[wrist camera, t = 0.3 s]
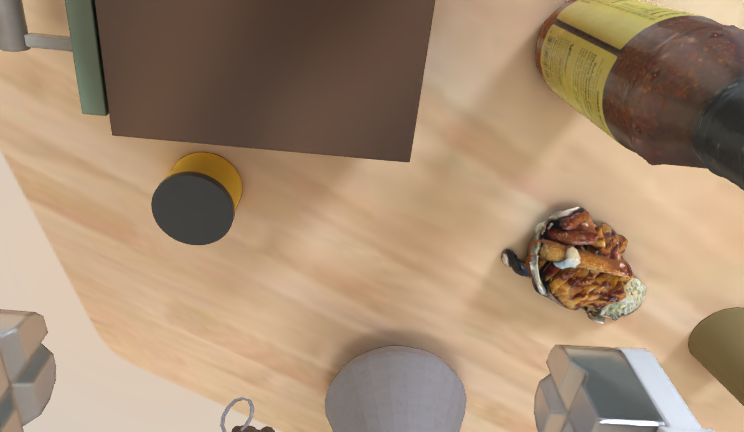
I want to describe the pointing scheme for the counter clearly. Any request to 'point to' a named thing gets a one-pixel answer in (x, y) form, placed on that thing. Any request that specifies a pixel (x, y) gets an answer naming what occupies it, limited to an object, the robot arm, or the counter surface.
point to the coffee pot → (389, 394)
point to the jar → (198, 199)
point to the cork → (722, 348)
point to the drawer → (64, 47)
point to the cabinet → (268, 73)
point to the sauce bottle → (651, 80)
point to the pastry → (580, 266)
